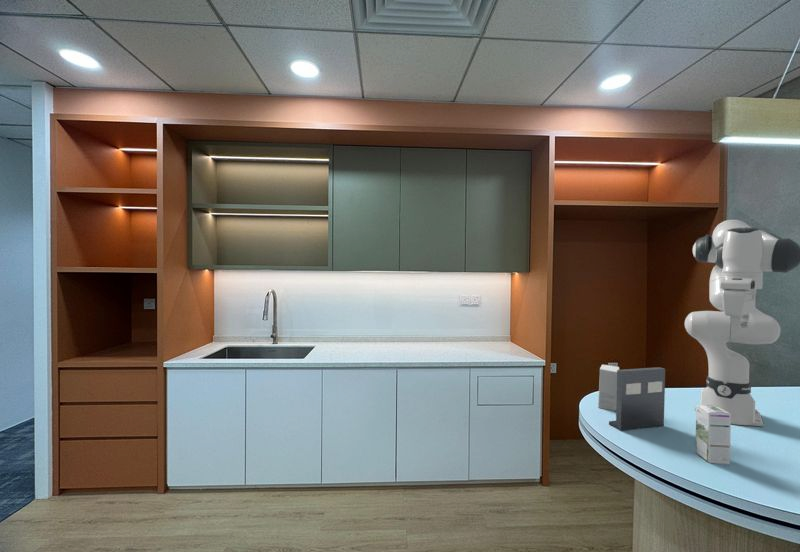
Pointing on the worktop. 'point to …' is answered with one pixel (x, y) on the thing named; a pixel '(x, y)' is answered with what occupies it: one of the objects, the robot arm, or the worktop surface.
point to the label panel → (640, 398)
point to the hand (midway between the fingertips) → (739, 329)
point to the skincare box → (608, 387)
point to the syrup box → (713, 434)
